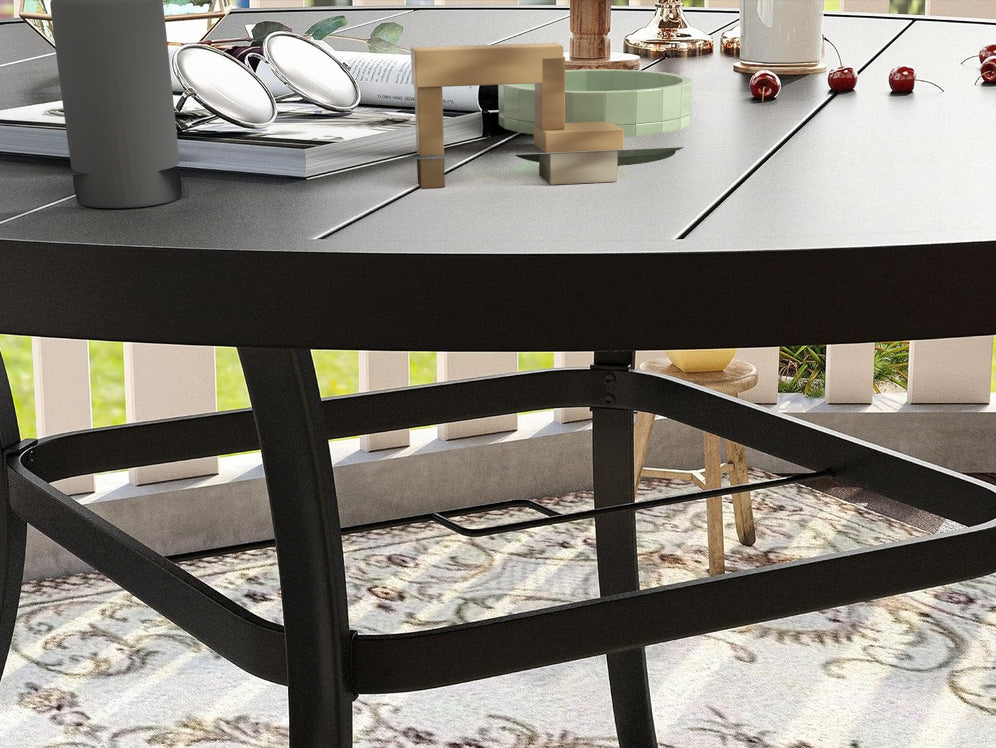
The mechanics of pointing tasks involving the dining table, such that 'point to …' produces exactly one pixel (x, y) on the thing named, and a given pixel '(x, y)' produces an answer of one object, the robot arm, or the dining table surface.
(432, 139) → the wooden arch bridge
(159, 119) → the bottle
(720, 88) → the dining table surface
